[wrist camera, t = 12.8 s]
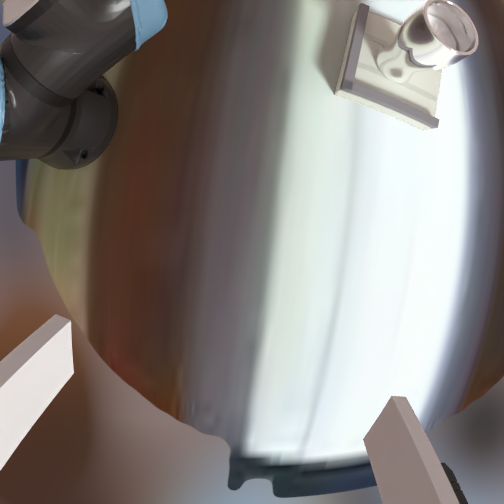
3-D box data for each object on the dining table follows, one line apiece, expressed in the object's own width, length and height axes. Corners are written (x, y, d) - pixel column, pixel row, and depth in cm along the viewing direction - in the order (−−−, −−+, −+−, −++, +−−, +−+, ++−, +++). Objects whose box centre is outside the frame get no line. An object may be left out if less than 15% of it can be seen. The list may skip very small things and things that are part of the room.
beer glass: (423, 58, 32) (483, 23, 18) (411, 96, 34) (475, 70, 19) (380, 33, 32) (428, -16, 17) (366, 70, 33) (416, 28, 19)
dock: (334, 94, 37) (342, 86, 33) (352, 16, 34) (361, 3, 29) (422, 130, 38) (437, 127, 33) (434, 52, 34) (448, 44, 30)
